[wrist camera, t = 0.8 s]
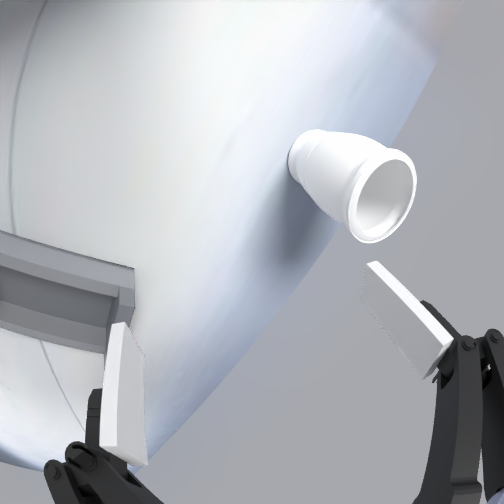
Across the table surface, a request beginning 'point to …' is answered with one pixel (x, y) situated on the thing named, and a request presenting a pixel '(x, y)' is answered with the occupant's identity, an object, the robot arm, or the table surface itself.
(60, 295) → the grey open tray
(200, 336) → the table surface
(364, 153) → the jar
